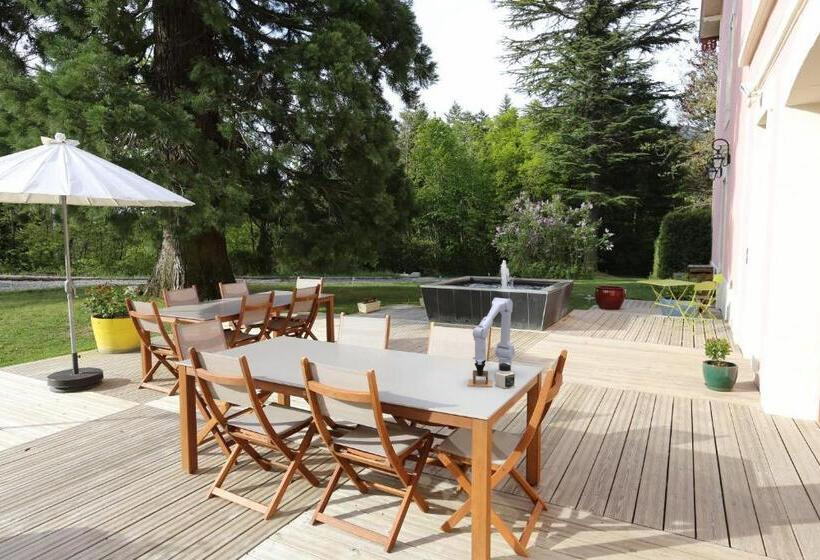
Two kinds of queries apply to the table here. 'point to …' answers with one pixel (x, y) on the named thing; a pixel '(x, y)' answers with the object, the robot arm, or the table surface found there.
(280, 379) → the table surface
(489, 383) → the terracotta tile
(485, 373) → the brown slotted block
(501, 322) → the robot arm
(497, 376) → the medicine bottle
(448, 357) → the table surface
